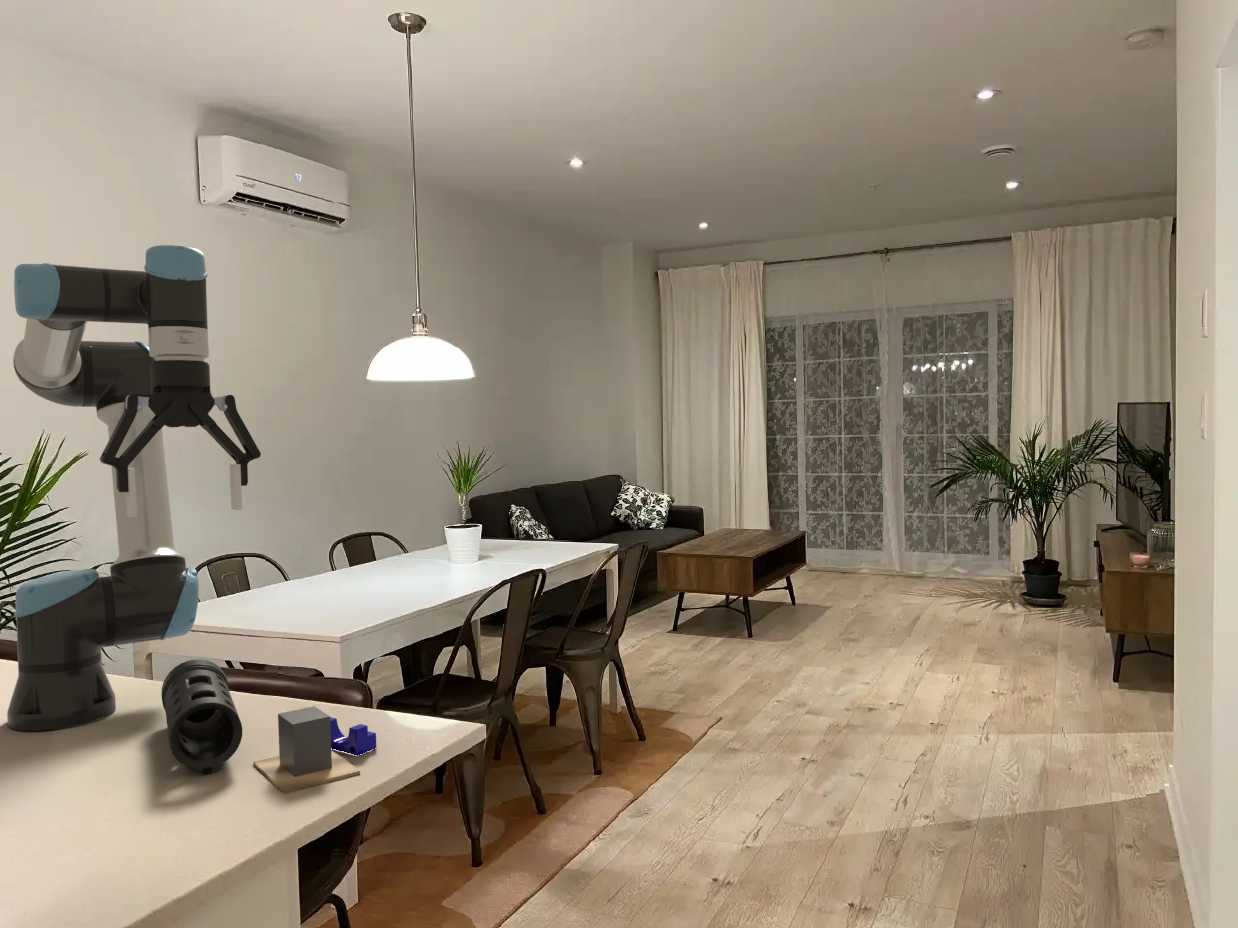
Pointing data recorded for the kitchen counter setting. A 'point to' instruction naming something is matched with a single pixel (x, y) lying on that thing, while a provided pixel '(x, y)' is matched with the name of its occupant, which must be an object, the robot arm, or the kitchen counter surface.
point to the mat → (291, 783)
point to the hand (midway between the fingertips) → (185, 513)
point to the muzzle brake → (200, 715)
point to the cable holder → (352, 739)
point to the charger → (304, 741)
